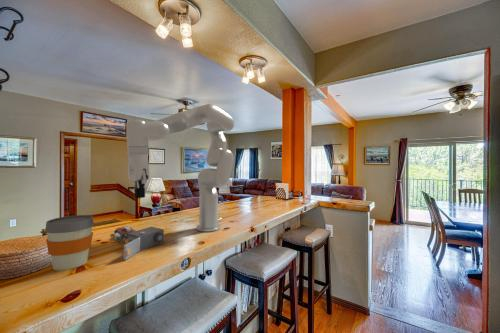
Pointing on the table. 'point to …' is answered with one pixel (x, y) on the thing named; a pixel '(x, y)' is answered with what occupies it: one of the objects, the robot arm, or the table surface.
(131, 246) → the side door
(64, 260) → the reusable coffee cup
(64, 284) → the table surface
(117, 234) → the walkie-talkie
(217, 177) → the robot arm
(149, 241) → the camera body
